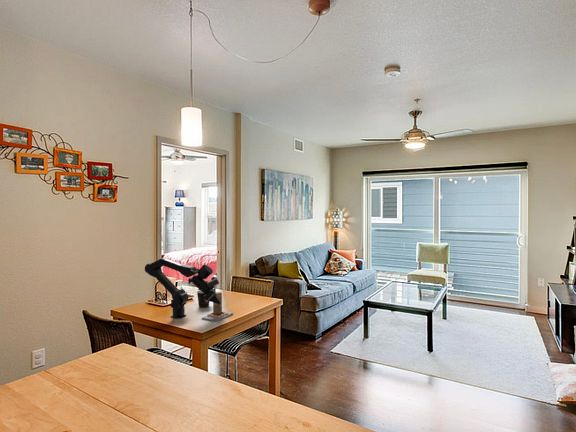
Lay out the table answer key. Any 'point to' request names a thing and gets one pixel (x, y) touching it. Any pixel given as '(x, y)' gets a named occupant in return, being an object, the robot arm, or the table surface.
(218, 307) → the walnut post
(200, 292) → the coffee mug
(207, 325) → the table surface
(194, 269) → the robot arm
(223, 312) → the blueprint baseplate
